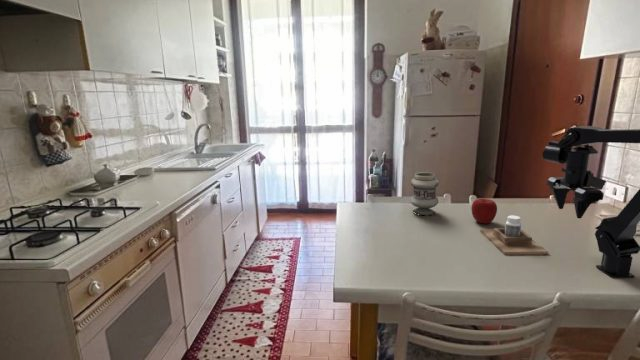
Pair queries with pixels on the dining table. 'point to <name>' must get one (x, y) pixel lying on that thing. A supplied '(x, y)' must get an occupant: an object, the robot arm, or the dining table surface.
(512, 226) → the pill bottle
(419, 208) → the apothecary jar
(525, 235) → the wooden tray with holder
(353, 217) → the dining table surface
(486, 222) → the apple
